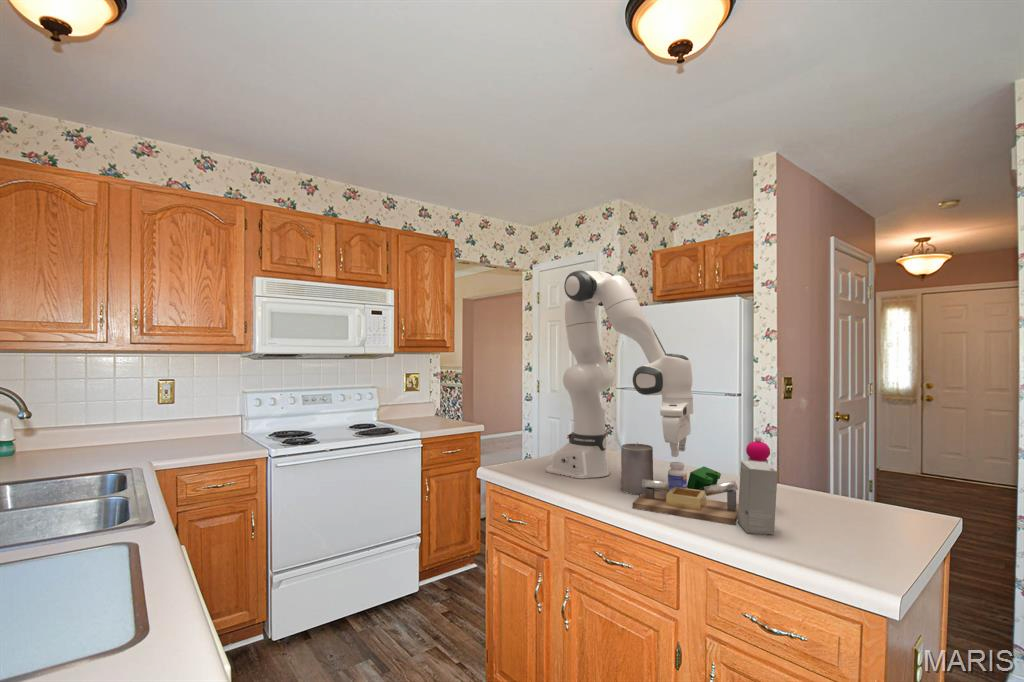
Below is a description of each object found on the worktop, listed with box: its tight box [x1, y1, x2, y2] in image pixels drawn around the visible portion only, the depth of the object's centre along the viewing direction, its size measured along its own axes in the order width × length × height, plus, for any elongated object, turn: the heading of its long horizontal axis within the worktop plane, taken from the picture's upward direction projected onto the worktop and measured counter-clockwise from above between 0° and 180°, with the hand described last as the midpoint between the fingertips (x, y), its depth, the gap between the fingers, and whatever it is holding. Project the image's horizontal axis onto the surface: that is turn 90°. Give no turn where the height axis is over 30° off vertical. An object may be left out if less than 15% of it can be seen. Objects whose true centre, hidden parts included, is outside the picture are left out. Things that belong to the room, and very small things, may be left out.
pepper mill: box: [745, 435, 771, 464], centre depth 138 cm, size 7×7×20 cm
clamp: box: [687, 466, 722, 491], centre depth 158 cm, size 12×6×9 cm, turn 132°
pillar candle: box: [620, 442, 654, 495], centre depth 155 cm, size 10×10×15 cm
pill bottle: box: [667, 461, 688, 493], centre depth 150 cm, size 5×5×10 cm
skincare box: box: [737, 459, 779, 536], centre depth 122 cm, size 8×7×16 cm
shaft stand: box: [631, 479, 739, 526], centre depth 137 cm, size 26×14×9 cm, turn 60°
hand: (678, 453), depth 150 cm, fingers open, 8 cm apart
